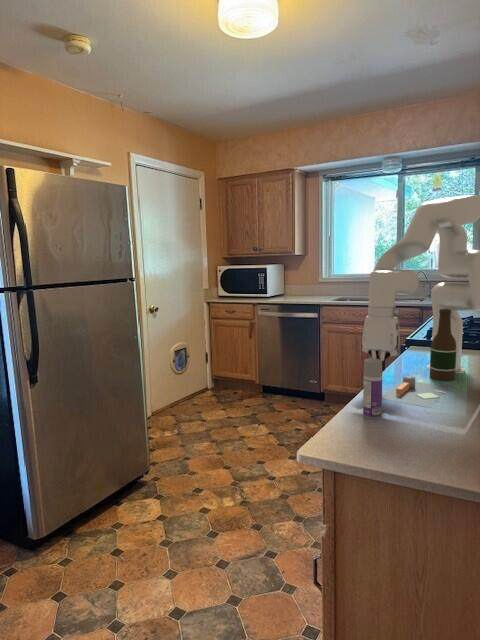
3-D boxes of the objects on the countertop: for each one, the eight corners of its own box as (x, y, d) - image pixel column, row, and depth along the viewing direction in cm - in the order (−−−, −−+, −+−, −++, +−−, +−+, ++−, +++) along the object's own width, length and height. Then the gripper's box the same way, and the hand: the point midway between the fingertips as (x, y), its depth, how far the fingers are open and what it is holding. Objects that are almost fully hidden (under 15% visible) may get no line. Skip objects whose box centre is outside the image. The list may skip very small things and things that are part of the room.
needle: (404, 383, 135) (405, 375, 135) (416, 385, 133) (416, 376, 133) (392, 393, 126) (392, 384, 126) (404, 396, 124) (405, 386, 124)
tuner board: (402, 383, 141) (402, 379, 141) (450, 390, 132) (451, 386, 132) (378, 402, 124) (378, 397, 124) (432, 412, 115) (432, 407, 115)
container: (381, 413, 115) (382, 358, 113) (381, 419, 111) (382, 363, 109) (363, 411, 117) (364, 357, 115) (362, 417, 112) (363, 362, 110)
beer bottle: (458, 385, 137) (462, 310, 134) (432, 384, 139) (435, 310, 135) (451, 378, 145) (454, 307, 141) (426, 377, 147) (429, 307, 143)
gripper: (411, 312, 126) (408, 373, 129) (362, 309, 135) (360, 366, 138) (403, 315, 120) (400, 379, 123) (352, 311, 129) (350, 371, 132)
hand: (379, 372), depth 130 cm, fingers closed
